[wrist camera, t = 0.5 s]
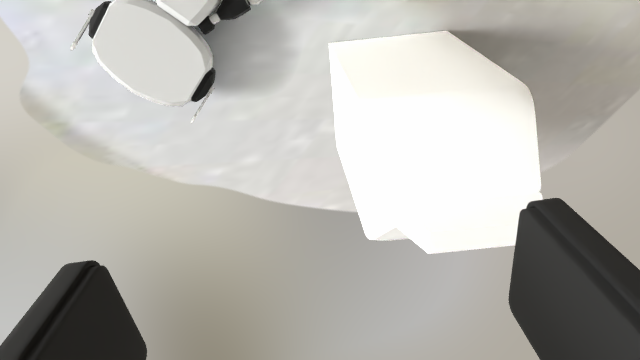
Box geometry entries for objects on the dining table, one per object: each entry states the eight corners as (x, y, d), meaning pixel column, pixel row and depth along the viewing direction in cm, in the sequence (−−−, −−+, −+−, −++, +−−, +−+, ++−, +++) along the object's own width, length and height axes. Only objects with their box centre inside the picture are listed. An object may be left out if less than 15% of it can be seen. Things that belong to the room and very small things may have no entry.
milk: (446, 30, 40) (637, 118, 17) (440, 136, 46) (579, 307, 23) (328, 42, 40) (364, 146, 18) (336, 146, 46) (371, 328, 23)
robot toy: (155, -98, 35) (85, 48, 39) (139, -110, 31) (62, 55, 35) (273, -7, 39) (197, 117, 43) (272, -7, 35) (188, 130, 39)
